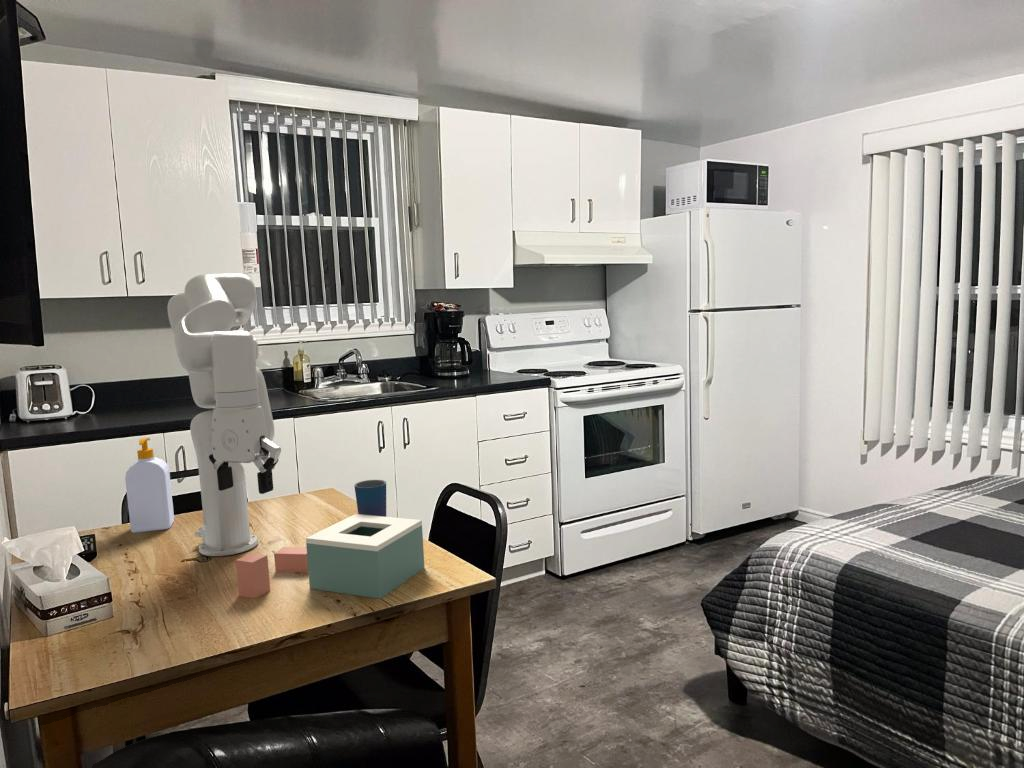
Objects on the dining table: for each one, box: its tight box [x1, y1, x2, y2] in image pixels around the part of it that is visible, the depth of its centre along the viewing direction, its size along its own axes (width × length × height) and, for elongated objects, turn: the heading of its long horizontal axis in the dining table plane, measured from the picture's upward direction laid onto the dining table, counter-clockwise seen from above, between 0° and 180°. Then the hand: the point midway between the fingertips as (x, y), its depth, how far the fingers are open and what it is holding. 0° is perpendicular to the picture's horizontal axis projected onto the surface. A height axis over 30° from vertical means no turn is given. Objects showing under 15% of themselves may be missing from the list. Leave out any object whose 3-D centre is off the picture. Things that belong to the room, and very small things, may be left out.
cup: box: [354, 479, 387, 517], centre depth 160 cm, size 7×7×15 cm
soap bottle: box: [124, 437, 175, 534], centre depth 184 cm, size 9×7×23 cm
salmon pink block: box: [235, 552, 271, 599], centre depth 140 cm, size 4×4×7 cm
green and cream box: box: [305, 513, 426, 600], centre depth 144 cm, size 16×16×10 cm
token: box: [273, 546, 309, 573], centre depth 152 cm, size 7×4×4 cm, turn 80°
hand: (245, 490), depth 137 cm, fingers open, 9 cm apart
